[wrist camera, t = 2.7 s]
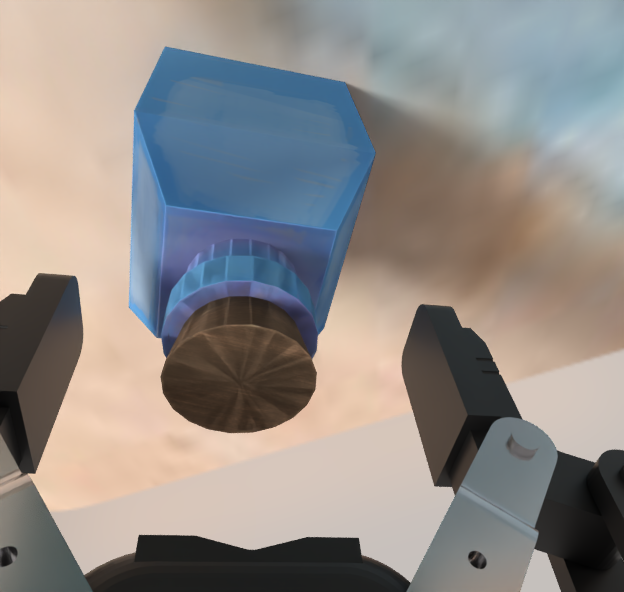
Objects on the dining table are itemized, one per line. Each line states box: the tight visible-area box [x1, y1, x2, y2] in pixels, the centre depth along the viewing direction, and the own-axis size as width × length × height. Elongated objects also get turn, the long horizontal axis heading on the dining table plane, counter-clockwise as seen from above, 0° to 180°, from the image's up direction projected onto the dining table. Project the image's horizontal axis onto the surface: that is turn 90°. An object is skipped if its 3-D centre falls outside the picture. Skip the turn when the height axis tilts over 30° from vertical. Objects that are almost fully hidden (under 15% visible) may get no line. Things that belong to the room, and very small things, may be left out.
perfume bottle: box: [129, 47, 376, 433], centre depth 16 cm, size 6×6×12 cm
